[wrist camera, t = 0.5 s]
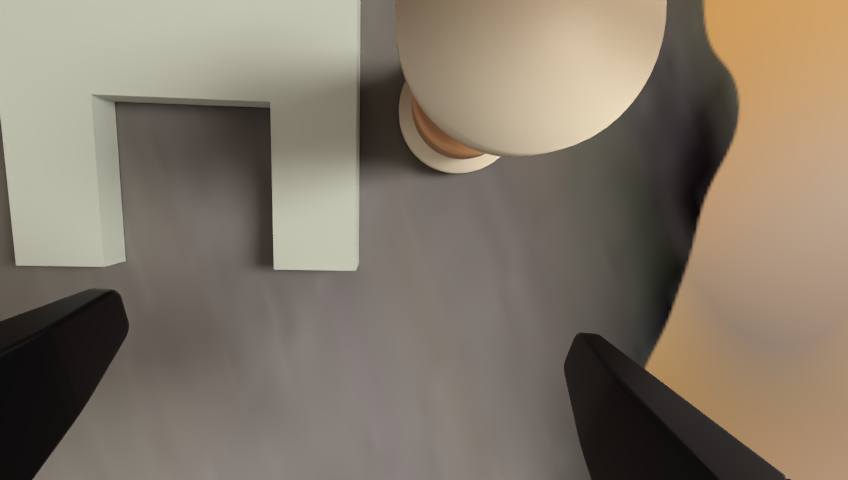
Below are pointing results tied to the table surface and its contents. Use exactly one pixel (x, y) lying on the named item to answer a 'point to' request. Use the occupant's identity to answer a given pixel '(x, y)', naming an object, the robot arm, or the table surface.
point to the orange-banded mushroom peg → (518, 74)
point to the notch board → (177, 84)
